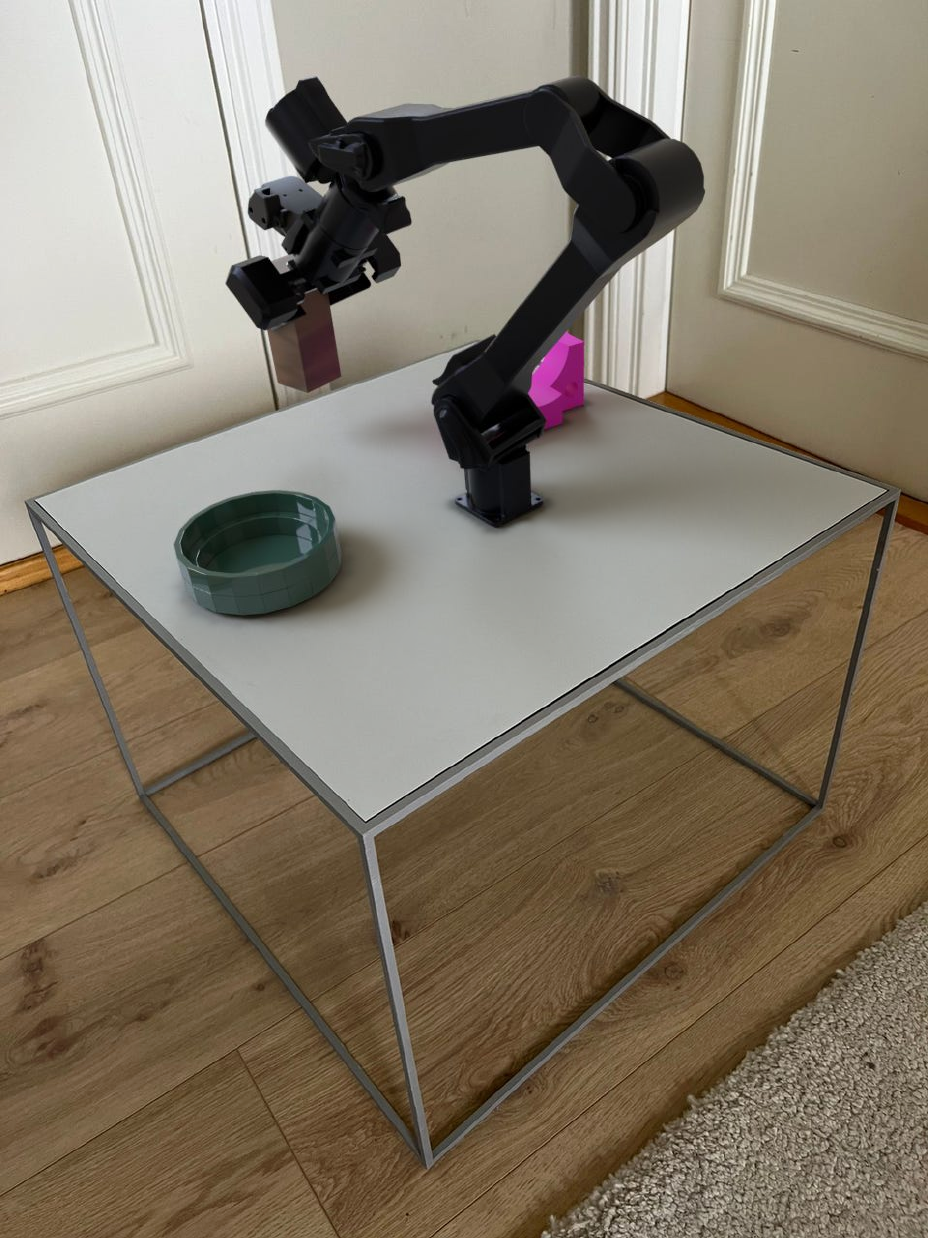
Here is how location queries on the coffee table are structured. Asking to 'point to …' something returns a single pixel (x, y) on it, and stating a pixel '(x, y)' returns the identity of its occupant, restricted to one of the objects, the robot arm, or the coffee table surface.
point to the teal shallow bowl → (258, 552)
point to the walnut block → (305, 343)
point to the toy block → (559, 380)
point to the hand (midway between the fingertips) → (290, 318)
